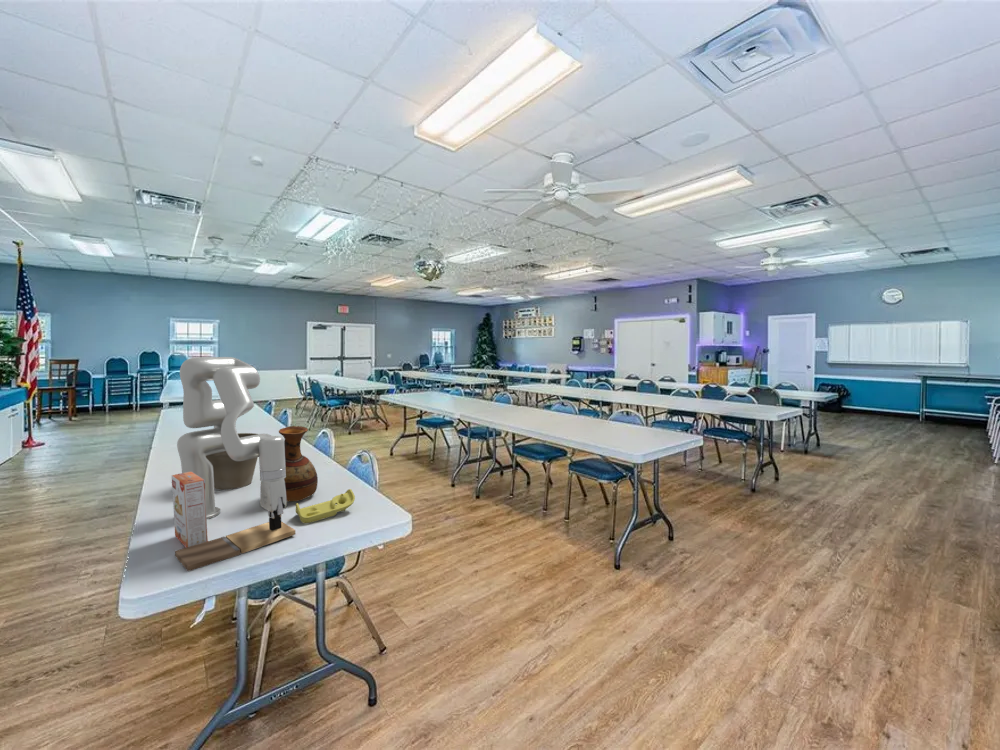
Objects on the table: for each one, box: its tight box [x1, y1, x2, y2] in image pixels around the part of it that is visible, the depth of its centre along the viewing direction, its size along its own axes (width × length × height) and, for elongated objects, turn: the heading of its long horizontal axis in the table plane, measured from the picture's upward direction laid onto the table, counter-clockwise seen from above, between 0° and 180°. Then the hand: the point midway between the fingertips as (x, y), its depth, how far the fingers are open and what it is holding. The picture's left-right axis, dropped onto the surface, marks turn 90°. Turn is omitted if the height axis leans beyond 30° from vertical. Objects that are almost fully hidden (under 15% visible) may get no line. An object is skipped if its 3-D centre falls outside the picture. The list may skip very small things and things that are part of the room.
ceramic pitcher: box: [278, 425, 319, 503], centre depth 177 cm, size 20×20×30 cm
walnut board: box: [174, 536, 241, 572], centre depth 127 cm, size 14×13×2 cm
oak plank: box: [225, 520, 296, 555], centre depth 139 cm, size 16×14×2 cm
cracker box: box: [171, 472, 209, 548], centre depth 137 cm, size 14×6×21 cm, turn 50°
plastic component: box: [295, 488, 356, 524], centre depth 160 cm, size 20×7×10 cm
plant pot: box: [206, 432, 259, 491], centre depth 194 cm, size 25×25×22 cm
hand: (275, 528), depth 141 cm, fingers closed
